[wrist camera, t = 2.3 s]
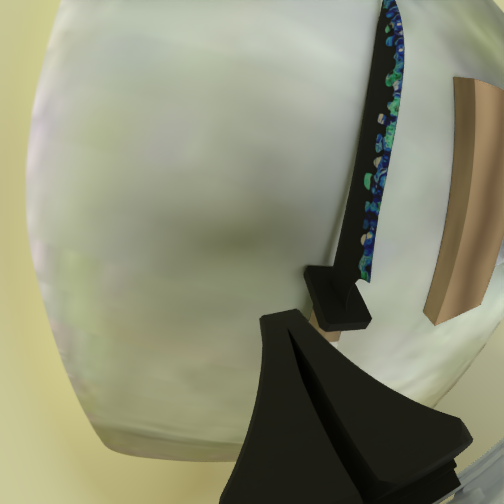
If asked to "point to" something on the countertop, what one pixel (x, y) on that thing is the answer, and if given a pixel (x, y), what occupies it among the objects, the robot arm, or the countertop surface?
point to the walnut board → (471, 203)
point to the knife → (362, 191)
